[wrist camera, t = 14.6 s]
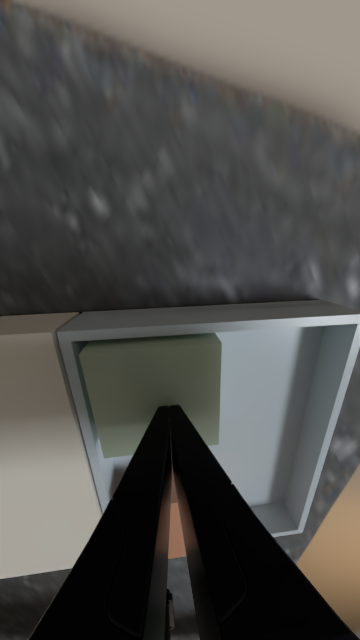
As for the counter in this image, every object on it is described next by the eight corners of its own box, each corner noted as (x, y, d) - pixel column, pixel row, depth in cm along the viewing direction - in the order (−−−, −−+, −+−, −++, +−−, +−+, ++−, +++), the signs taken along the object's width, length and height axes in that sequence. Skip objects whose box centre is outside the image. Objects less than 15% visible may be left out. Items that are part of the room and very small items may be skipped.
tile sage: (208, 410, 10) (218, 444, 9) (114, 420, 10) (103, 458, 8) (208, 323, 9) (221, 342, 7) (96, 332, 8) (78, 354, 7)
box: (280, 488, 15) (302, 532, 13) (122, 509, 14) (115, 561, 12) (321, 299, 10) (370, 313, 8) (83, 311, 9) (56, 331, 7)
